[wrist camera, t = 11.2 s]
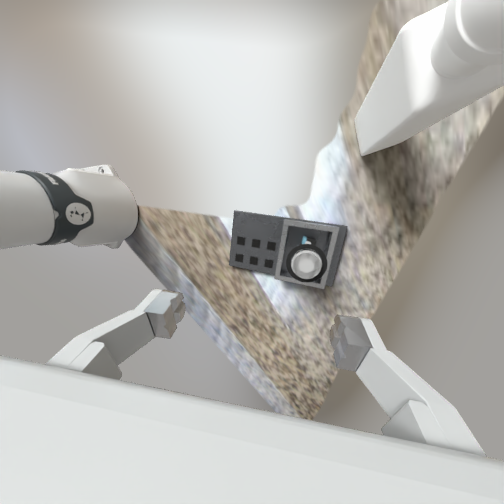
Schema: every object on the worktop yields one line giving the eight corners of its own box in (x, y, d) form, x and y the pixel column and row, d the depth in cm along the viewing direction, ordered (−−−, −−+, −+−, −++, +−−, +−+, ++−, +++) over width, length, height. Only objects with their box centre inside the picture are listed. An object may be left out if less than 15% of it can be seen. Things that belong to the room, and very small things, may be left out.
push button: (312, 273, 34) (318, 299, 24) (284, 265, 35) (278, 287, 25) (324, 238, 32) (334, 251, 22) (293, 231, 33) (291, 241, 23)
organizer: (231, 263, 39) (224, 269, 35) (236, 210, 36) (229, 210, 32) (330, 283, 35) (334, 292, 31) (345, 225, 32) (351, 228, 28)
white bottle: (406, 144, 27) (752, -60, 6) (357, 161, 29) (502, 46, 8) (399, 96, 26) (781, -328, 5) (349, 117, 28) (490, -137, 7)
